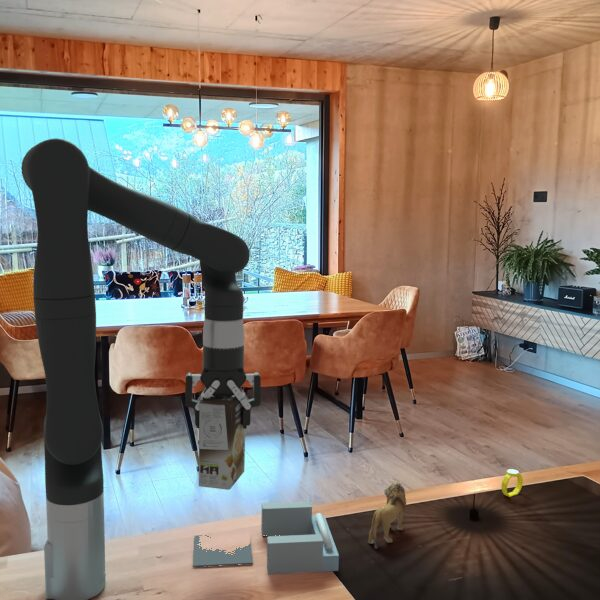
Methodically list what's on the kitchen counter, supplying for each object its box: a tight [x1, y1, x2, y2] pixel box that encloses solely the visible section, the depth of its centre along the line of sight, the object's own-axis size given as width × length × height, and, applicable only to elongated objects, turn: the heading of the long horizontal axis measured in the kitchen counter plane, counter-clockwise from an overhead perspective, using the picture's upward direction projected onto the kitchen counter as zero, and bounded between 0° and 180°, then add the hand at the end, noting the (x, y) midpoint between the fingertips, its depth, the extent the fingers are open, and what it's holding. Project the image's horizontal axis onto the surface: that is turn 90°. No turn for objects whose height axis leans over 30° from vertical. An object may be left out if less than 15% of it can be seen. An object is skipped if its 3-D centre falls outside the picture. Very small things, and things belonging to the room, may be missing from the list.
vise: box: [260, 501, 340, 575], centre depth 125 cm, size 13×16×6 cm
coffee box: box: [198, 391, 247, 491], centre depth 122 cm, size 9×6×16 cm
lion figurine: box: [367, 481, 407, 549], centre depth 132 cm, size 15×5×9 cm, turn 157°
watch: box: [501, 468, 524, 498], centre depth 152 cm, size 6×3×6 cm, turn 123°
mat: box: [192, 534, 254, 568], centre depth 125 cm, size 11×11×1 cm
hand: (222, 427), depth 121 cm, fingers closed on coffee box, 7 cm apart
